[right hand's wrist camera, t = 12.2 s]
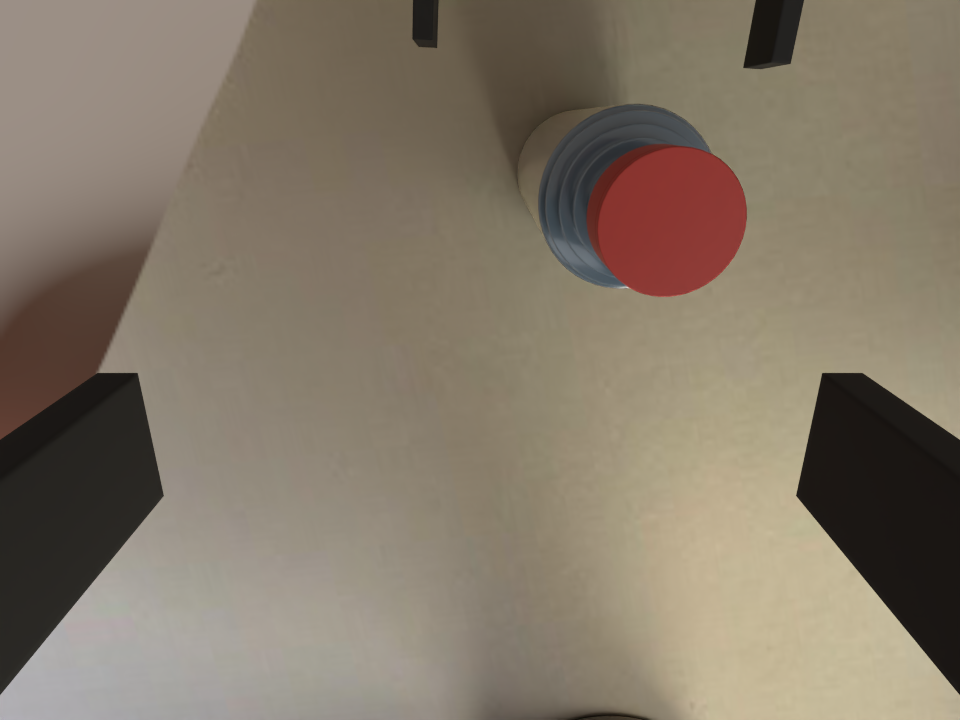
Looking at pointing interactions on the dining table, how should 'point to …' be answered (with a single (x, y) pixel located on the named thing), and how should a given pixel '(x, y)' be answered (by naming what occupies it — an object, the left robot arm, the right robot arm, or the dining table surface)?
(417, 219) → the dining table surface
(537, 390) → the dining table surface
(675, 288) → the cap
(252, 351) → the dining table surface
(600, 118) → the bottle
